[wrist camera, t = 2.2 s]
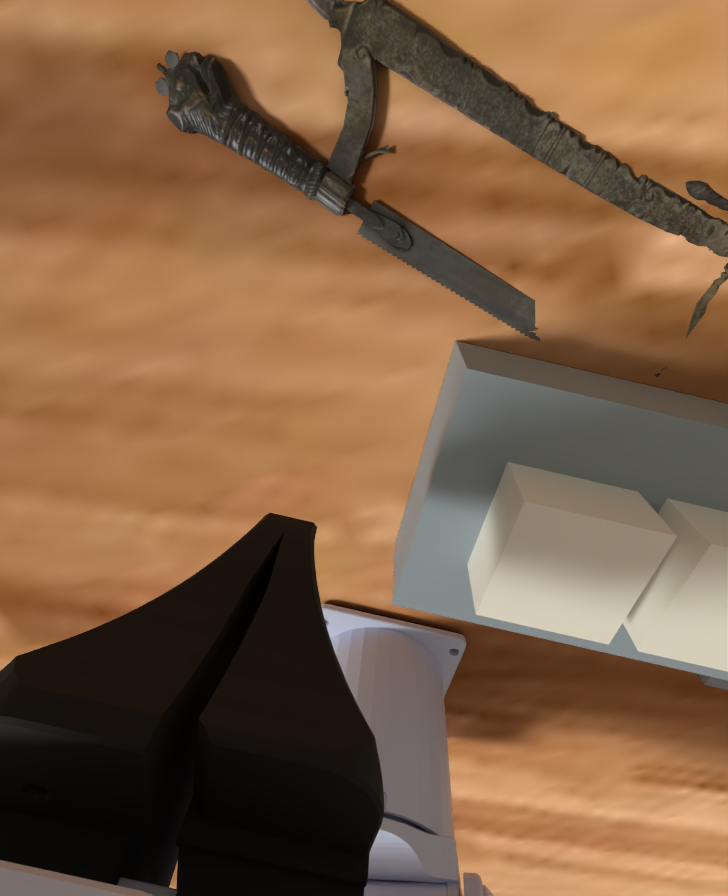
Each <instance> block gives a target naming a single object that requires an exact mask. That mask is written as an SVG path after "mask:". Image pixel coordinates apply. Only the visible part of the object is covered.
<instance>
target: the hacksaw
mask: <svg viewBox="0 0 728 896" xmlns="http://www.w3.org/2000/svg"><path fill="white" fill-rule="evenodd" d="M308 2H309V4H310V5H311V6H312V7H313V8H314V9H315V10H316V11H317V12H318V13H319V14H320V15H321V16H322V17H323V18H324V19H327V20H329V25H330V27H332V28H338V29H339V31H340V32H341V50H340V55H339V59H338V65H339V67H340V68H341V69H342V70H343V72H344V78H345V93H344V94H345V96H348V104H347V110H346V115H345V121H344V126H343V128H342V131H341V133H340V136H339V138H338V141H337V143H336V146H335V148H334V151H333V153H332V156H331V158H330V161H329V163H328V165H326V164H325V163H324V162H322V161H316V160H315V159H314V158H313V157H312V156H311V155H310V154H308V153H307V152H305V151H304V150H303V149H302V148H301V147H300V146H298V145H297V144H295V143H294V142H292V141H291V139H290V138H288V137H287V136H285V135H284V134H282V133H281V132H280V131H278V130H277V129H276V128H275V127H272V126H271V125H270V124H269V123H268V122H266V121H265V120H264V119H263V118H262V117H261V116H260V115H259V114H258V113H256V112H254V111H252V110H250V109H249V108H248V107H247V106H246V105H244V104H243V103H242V102H241V101H240V99H239V98H238V96H237V95H236V93H235V92H234V90H233V89H232V87H231V84H230V82H229V79H228V77H227V75H226V73H225V71H224V69H223V68H222V66H221V64H220V63H219V62H218V61H217V60H216V59H215V58H213V57H210V56H208V57H207V58H206V59H205V58H204V57H203V56H202V55H201V54H200V53H197V52H191V53H187V54H186V55H185V56H184V57H183V58H182V59H181V60H180V61H179V57H178V54H177V53H175V52H172V51H168V52H167V54H166V56H165V59H166V63H167V66H168V67H170V68H169V69H168V70H167V69H166V68H165V67H164V66H162V65H161V64H160V63H158V64H157V69H159V70H160V71H161V72H162V73H163V74H164V75H165V79H164V78H160V79H159V80H158V81H157V82H156V89H157V91H158V93H159V94H161V95H163V96H165V95H167V94H169V108H168V110H167V112H166V114H167V117H168V118H169V120H170V121H171V122H172V123H173V124H174V125H175V126H176V127H177V128H178V129H179V130H180V131H181V132H186V133H188V134H190V133H193V132H199V133H201V134H203V135H206V136H208V137H209V138H211V139H213V140H215V141H217V142H219V143H221V144H223V145H225V146H226V147H228V148H230V149H232V150H233V151H235V152H236V153H237V154H239V155H241V156H244V157H246V158H248V159H250V160H251V161H252V162H254V163H256V164H257V165H259V166H261V167H262V168H263V169H264V170H268V171H269V172H271V173H273V174H275V175H276V176H278V177H280V178H281V179H283V180H284V181H286V182H287V183H289V184H290V185H292V186H293V187H294V188H296V189H298V190H300V191H302V192H304V194H305V196H306V197H307V198H308V199H310V200H313V199H316V200H317V201H318V202H319V203H320V204H321V205H322V206H323V207H325V208H326V209H328V210H329V211H331V212H332V213H334V214H335V215H338V216H341V215H342V214H343V213H344V211H345V210H347V211H349V212H350V213H352V214H354V215H356V216H357V217H359V218H360V219H362V220H363V223H362V225H361V227H360V229H359V231H358V233H357V234H361V236H362V237H366V238H367V240H370V241H372V243H375V244H377V246H378V247H382V249H383V250H387V252H388V253H392V255H393V256H397V258H398V259H402V261H403V262H407V265H411V266H412V268H416V269H417V271H421V272H422V274H426V275H427V277H431V278H432V280H436V282H437V283H438V282H440V283H441V285H442V286H443V285H445V286H446V288H450V289H451V291H455V293H456V294H460V296H461V297H464V298H465V300H469V301H470V303H474V305H475V306H479V308H483V310H484V311H488V313H489V314H492V315H493V317H497V318H498V320H502V322H506V324H507V325H511V328H515V329H516V331H520V333H524V334H525V336H528V335H529V337H530V338H532V339H533V338H534V339H536V340H538V341H540V338H538V337H537V336H535V335H536V333H532V332H528V331H533V330H537V329H538V328H536V327H535V300H533V299H531V298H530V297H528V296H527V295H525V294H523V293H522V292H520V291H519V290H517V289H515V288H514V287H512V286H511V285H509V284H507V283H506V282H504V281H503V280H501V279H499V278H498V277H496V276H495V275H493V274H491V273H490V272H488V271H487V270H485V269H483V268H482V267H480V266H479V265H477V264H475V263H474V262H472V261H471V260H469V259H467V258H466V257H464V256H463V255H461V254H459V253H458V252H456V251H455V250H453V249H451V248H450V247H448V246H447V245H445V244H443V243H442V242H440V241H439V240H437V239H435V238H434V237H432V236H431V235H429V234H427V233H426V232H424V231H423V230H421V229H419V228H418V227H416V226H415V225H413V224H411V223H410V222H408V221H407V220H405V219H403V218H402V217H400V216H399V215H397V214H395V213H394V212H392V211H391V210H389V209H387V208H386V207H384V206H382V205H381V204H379V203H378V202H376V201H373V203H372V205H371V207H370V209H369V210H368V209H366V208H365V207H364V206H362V205H361V204H360V203H359V202H357V201H356V200H355V199H354V198H352V197H351V196H352V194H353V192H354V190H355V185H354V184H352V180H353V177H354V174H355V172H356V170H357V168H358V166H359V162H360V161H362V160H364V159H366V158H368V157H370V156H372V155H374V154H376V153H386V154H388V145H387V146H384V147H382V148H380V149H378V150H375V151H373V152H371V153H369V154H367V155H364V156H363V153H364V151H365V148H366V145H367V143H368V140H369V137H370V134H371V131H372V128H373V125H374V122H375V111H376V100H377V76H376V67H375V62H376V61H377V62H379V63H381V64H383V65H384V66H386V67H388V68H390V69H391V70H393V71H395V72H397V73H398V74H400V75H402V76H403V77H405V78H407V79H408V80H410V81H411V82H413V83H414V84H416V85H417V86H419V87H420V88H422V89H424V90H425V91H427V92H429V93H430V94H432V95H433V96H435V97H437V98H438V99H440V100H442V101H443V102H445V103H447V104H448V105H450V106H452V107H454V108H455V109H457V110H459V111H460V112H462V113H463V114H464V115H466V116H467V117H468V118H470V119H472V120H473V121H475V122H477V123H479V124H480V125H482V126H484V127H485V128H487V129H488V130H490V131H492V132H493V133H495V134H496V135H499V136H500V137H502V138H504V139H505V140H507V141H508V142H510V143H512V144H513V145H515V146H517V147H518V148H520V149H521V150H523V151H525V152H526V153H528V154H529V155H531V156H533V157H534V158H536V159H538V160H539V161H541V162H542V163H545V164H547V165H548V166H549V167H551V168H552V169H554V170H556V171H557V172H559V173H561V174H564V175H565V176H566V177H567V178H568V179H570V180H572V181H574V182H576V183H578V184H579V185H581V186H582V187H584V188H585V189H587V190H589V191H590V192H592V193H594V194H596V195H598V196H599V197H601V198H603V199H605V200H607V201H608V202H610V203H612V204H614V205H616V206H617V207H619V208H621V209H623V210H625V211H627V212H628V213H630V214H632V215H633V216H635V217H637V218H639V219H642V220H644V221H646V222H648V223H650V224H652V225H654V226H656V227H658V228H660V229H662V230H664V231H666V232H669V233H672V234H675V235H678V236H679V235H680V234H681V235H683V236H684V237H686V240H687V241H688V242H690V243H693V244H695V245H698V246H707V247H708V248H709V250H713V253H715V254H717V255H719V256H724V257H728V224H727V223H726V222H724V221H723V220H721V219H719V218H714V217H712V216H710V215H709V214H707V213H706V212H705V211H703V210H702V209H700V208H699V207H698V206H696V205H694V204H693V203H691V202H690V201H688V200H686V199H685V198H683V197H681V196H680V195H678V194H676V193H674V192H673V191H671V190H669V189H667V188H666V187H664V186H662V185H660V184H658V183H657V182H654V181H651V179H648V180H646V175H641V176H640V177H639V178H638V179H637V178H635V177H634V176H633V175H632V174H631V171H630V169H629V167H628V166H627V165H626V164H624V163H622V164H619V163H618V161H617V160H616V159H615V158H614V157H613V156H611V155H610V154H609V153H607V152H605V151H603V150H601V149H600V148H599V147H597V146H596V145H589V144H588V143H586V142H585V141H583V140H582V138H581V135H580V134H579V133H578V132H576V131H574V130H572V129H571V128H569V127H567V126H565V125H564V124H562V123H560V122H559V121H557V120H555V119H554V118H553V113H551V112H550V111H549V112H540V111H539V110H537V109H536V108H534V107H532V106H531V104H530V103H529V102H528V100H527V99H526V98H525V97H524V96H522V95H520V94H518V93H516V92H515V91H513V90H512V89H511V87H510V86H509V85H508V84H506V83H504V82H502V81H500V80H498V79H497V78H495V77H494V76H493V75H492V74H490V73H489V72H488V71H486V70H485V69H484V68H483V67H481V66H479V65H477V64H475V63H473V62H472V61H471V60H470V59H469V58H468V57H466V56H465V55H463V54H461V53H459V52H458V51H456V50H455V49H453V48H452V47H451V46H450V45H448V44H447V43H446V42H445V41H443V40H442V39H441V38H439V37H438V36H437V35H435V34H434V33H433V32H431V31H430V30H429V29H427V28H426V27H424V26H423V25H421V24H420V23H419V22H417V21H416V20H414V19H413V18H411V17H410V16H408V15H407V14H405V13H404V12H402V11H401V10H399V9H398V8H396V7H395V6H393V5H392V4H390V3H389V2H388V1H387V0H364V1H362V2H342V1H341V0H335V1H333V0H308ZM686 189H687V191H688V193H689V194H690V195H691V196H692V197H693V198H695V199H697V200H705V201H706V202H707V203H709V204H711V205H715V206H717V207H719V208H720V209H722V210H726V211H728V200H727V199H725V198H723V197H722V196H721V195H719V194H718V193H716V192H715V191H713V190H712V189H711V188H710V187H709V185H708V184H707V183H705V182H701V181H689V182H686ZM724 269H725V272H722V273H721V278H719V279H716V280H714V282H713V284H712V285H711V286H710V288H709V289H708V290H707V291H706V293H705V294H704V295H703V296H702V298H701V299H700V300H699V301H698V303H697V305H696V307H695V310H694V313H693V316H692V320H691V323H690V326H689V330H688V333H687V336H688V335H689V333H690V332H691V331H692V329H693V328H694V327H695V325H696V324H697V323H698V321H699V320H700V318H701V317H702V316H703V314H704V313H705V311H706V307H707V304H708V302H709V301H710V300H711V299H712V298H713V296H714V295H715V294H716V292H717V290H718V288H719V286H720V285H721V284H722V283H723V282H725V281H726V280H727V279H728V263H727V264H726V266H725V267H724ZM687 336H686V337H687ZM685 339H686V338H685ZM666 368H667V367H666ZM663 369H665V368H663ZM663 369H662V370H663ZM659 375H660V373H659V374H655V376H657V377H658V376H659Z"/></svg>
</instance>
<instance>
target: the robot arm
mask: <svg viewBox="0 0 728 896" xmlns="http://www.w3.org/2000/svg"><path fill="white" fill-rule="evenodd" d="M316 529H317V527H316V525H315V524H314V523H313V522H308V521H304V520H300V519H295V518H291V517H286V516H282V515H277V514H273V513H269V514H267V515H265V516H264V517H263V519H262V520H261V521H259V522H258V523H257V524H256V525H255V526H254V527H253V528H252V529H251V530H250V531H249V532H248V533H247V534H246V535H244V536H243V537H242V538H241V539H240V540H239V541H238V542H236V543H235V544H234V545H233V546H232V547H230V548H229V549H228V550H227V551H225V552H224V553H223V554H222V555H221V556H219V557H218V558H217V559H215V560H214V561H212V562H211V563H210V564H208V565H207V566H206V567H204V568H203V569H202V570H200V571H199V572H197V573H196V574H195V575H193V576H192V577H190V578H189V579H187V580H186V581H184V582H182V583H181V584H179V585H178V586H176V587H174V588H173V589H171V590H169V591H168V592H166V593H165V594H163V595H161V596H159V597H157V598H156V599H154V600H152V601H150V602H148V603H146V604H145V605H143V606H141V607H139V608H137V609H135V610H133V611H131V612H129V613H127V614H125V615H123V616H121V617H119V618H116V619H114V620H112V621H110V622H107V623H105V624H103V625H101V626H98V627H96V628H94V629H91V630H89V631H86V632H84V633H81V634H79V635H76V636H74V637H71V638H68V639H65V640H63V641H60V642H57V643H54V644H51V645H48V646H45V647H42V648H40V649H37V650H34V651H31V652H28V653H25V654H22V655H19V656H16V657H15V658H14V659H13V660H12V661H11V662H10V663H9V664H8V665H7V666H6V667H5V668H3V669H2V670H1V671H0V896H462V892H461V883H460V875H459V866H458V858H457V850H456V841H455V839H454V828H453V814H452V801H451V787H450V773H449V760H448V746H447V732H446V718H445V705H444V696H445V694H446V692H447V690H448V687H449V685H450V683H451V680H452V678H453V676H454V674H455V671H456V669H457V667H458V664H459V662H460V660H461V658H462V655H463V653H464V651H465V648H466V645H467V644H466V639H465V637H464V636H463V635H461V634H458V633H454V632H450V631H445V630H441V629H436V628H432V627H427V626H423V625H419V624H414V623H410V622H405V621H401V620H397V619H392V618H388V617H383V616H379V615H374V614H370V613H366V612H361V611H357V610H352V609H348V608H343V607H339V606H335V605H330V604H321V602H320V597H319V592H318V586H317V580H316V571H315V561H314V539H315V534H316ZM325 620H327V621H325ZM452 649H455V650H452ZM177 860H178V871H177V889H173V888H169V885H170V882H171V879H172V876H173V873H174V869H175V866H176V863H177ZM463 879H464V894H465V896H493V894H492V893H491V892H490V891H489V889H488V888H487V887H486V886H485V885H482V881H481V878H480V876H479V875H478V874H476V873H463Z"/></svg>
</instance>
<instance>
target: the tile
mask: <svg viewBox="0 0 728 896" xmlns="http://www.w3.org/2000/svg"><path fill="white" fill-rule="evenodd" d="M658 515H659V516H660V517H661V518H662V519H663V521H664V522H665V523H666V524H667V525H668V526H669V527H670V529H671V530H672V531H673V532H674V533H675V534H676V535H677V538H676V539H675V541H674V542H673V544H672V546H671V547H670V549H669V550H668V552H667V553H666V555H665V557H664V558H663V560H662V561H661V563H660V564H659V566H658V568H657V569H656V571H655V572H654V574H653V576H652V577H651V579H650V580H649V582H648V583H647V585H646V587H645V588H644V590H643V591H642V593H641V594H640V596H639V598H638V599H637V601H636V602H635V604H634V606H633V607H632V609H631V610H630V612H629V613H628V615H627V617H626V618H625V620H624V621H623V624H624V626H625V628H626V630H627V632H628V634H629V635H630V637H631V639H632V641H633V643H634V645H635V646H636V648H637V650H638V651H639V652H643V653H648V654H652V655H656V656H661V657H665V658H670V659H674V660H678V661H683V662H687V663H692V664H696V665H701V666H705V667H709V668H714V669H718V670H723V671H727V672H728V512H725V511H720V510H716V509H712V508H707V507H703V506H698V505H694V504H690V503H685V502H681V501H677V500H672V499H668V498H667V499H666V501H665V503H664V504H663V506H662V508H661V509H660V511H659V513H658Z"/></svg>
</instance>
